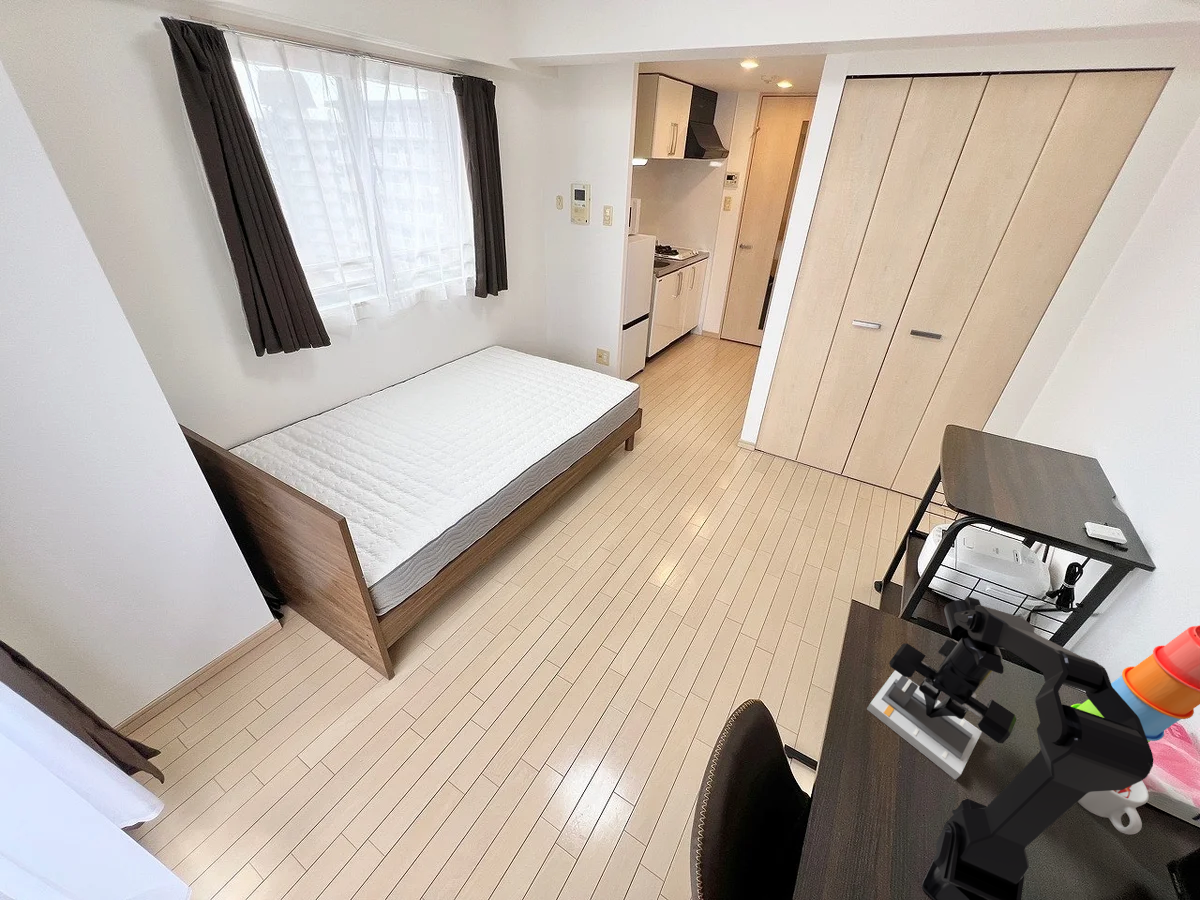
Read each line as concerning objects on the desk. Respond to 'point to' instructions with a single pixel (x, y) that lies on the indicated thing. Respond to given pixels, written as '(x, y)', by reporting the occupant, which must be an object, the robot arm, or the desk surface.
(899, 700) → the fader knob
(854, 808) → the desk surface
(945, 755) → the console board
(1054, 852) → the desk surface
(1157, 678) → the stacking cups
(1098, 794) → the cup
